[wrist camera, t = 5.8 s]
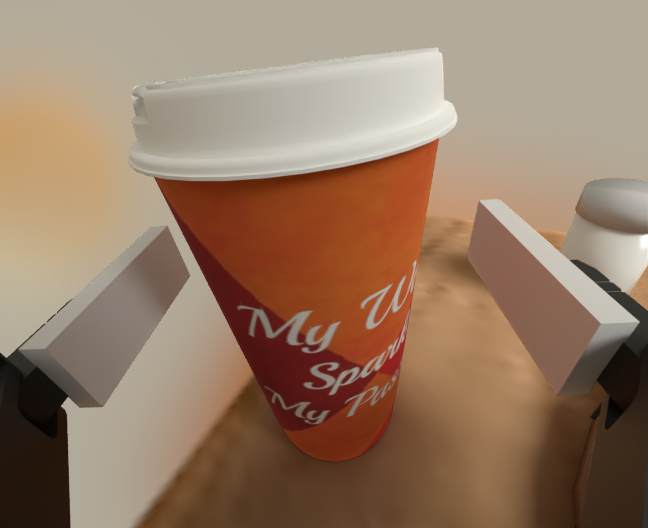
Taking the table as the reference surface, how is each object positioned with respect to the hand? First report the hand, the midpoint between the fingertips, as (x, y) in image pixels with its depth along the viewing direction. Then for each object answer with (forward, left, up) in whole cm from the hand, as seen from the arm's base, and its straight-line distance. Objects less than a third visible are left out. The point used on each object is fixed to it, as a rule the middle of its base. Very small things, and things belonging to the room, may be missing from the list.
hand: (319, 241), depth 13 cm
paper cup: (0, +3, -8) cm, 8 cm away
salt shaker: (-15, -3, -8) cm, 17 cm away
